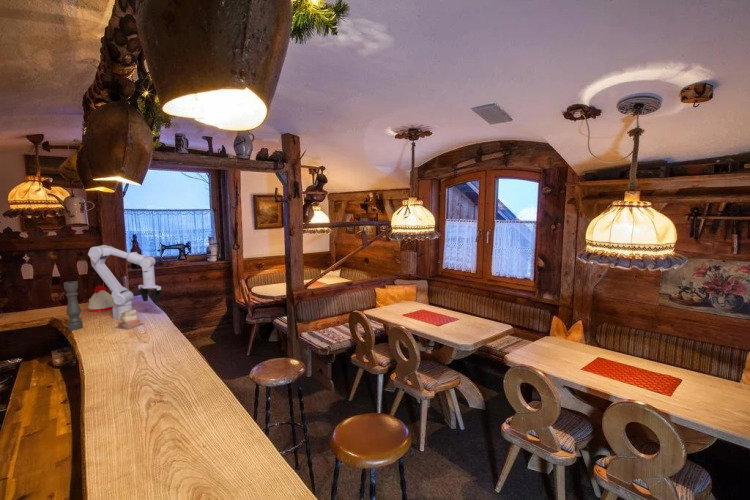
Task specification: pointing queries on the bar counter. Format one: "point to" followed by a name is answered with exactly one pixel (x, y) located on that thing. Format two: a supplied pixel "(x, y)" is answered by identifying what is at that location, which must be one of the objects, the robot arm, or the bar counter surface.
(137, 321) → the terracotta brick
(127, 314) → the ash brick
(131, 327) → the base plate
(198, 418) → the bar counter surface
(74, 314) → the candle holder
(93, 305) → the white and red dome
